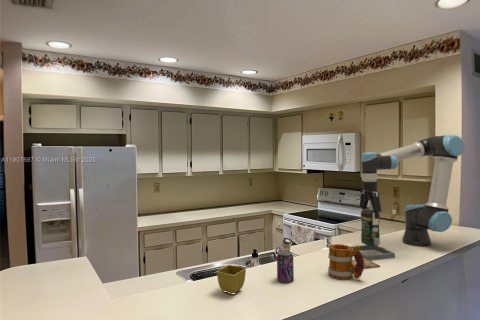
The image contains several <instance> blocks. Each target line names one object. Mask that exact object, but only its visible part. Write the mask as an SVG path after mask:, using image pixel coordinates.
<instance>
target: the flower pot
mask: <svg viewBox="0 0 480 320" xmlns="http://www.w3.org/2000/svg"><path fill="white" fill-rule="evenodd" d="M246 271H247V268H245V267H241V266H237V265H234V264H233V265H232V264H228V265H226V266H224V267H222V268H220V269H218V270H217V271H216V276H217V282H218V286H219V288H220V290H221V291H222V290H223V291H227V292H230V293H236V292H237V291H239V290H240V289H241V290H242V288H243V286H244V284H245V280H246ZM241 290H240V291H241ZM223 291H222V292H223ZM240 291H239V292H240ZM237 293H238V292H237ZM237 293H236V294H237Z"/></svg>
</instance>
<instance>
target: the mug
mask: <svg viewBox="0 0 480 320" xmlns="http://www.w3.org/2000/svg"><path fill="white" fill-rule="evenodd" d="M355 246H356V247H355V248H354V249H353V250H352V248H351V246H350V245H348V244H347V245H346V244H341V243H337V244H336V243H335V244H331V245H329V247H328V252H329V253H328V259H329V264H328V265H329V266H328V267H327V268H328V269H327V271H328V276H330V277H331V278H333V279H335V280H336V279H337V280H350V279H352V278H355V279H357V280H358V279H360V278H361V277H362V274H363V272H364V270H365V269H364V260H363V256H362V253H363V252H361V251H360V248H361V247H360V246H361V245H355ZM353 258H354V259H353ZM352 260H356V262H357V263H356V267H354V266H353V265H352Z"/></svg>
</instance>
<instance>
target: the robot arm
mask: <svg viewBox="0 0 480 320" xmlns="http://www.w3.org/2000/svg"><path fill="white" fill-rule="evenodd" d="M465 148H466V147H465V143H464V141H463V139H462V138H461V137H460V136H458V135H456V134H446V135H433V136H430V137H427V138H423V139H420V140H417V141H414V142H413V143H412V144H409V145H405V146H401V147H397V148H394V149H391V150H390V149H389V150H387V151H382V152H379V153H377V152H376V151H375V152H372V151H371V152H363V153H361V160H360V161H361V188H362V189H361V190H360V200H359V208H360V209H361V211H362V210H365V209H368V204H369V201H370V203H371V208H372V210H373V225H378V213H379V214H380V212H382V207H381V201H380V193H379V192H376V189H378V182H377V181H378V170H381V171H382V170H390V171H391V170H395V169H397V168H398V166H399V162H402V161H405V160H409V159H412V158H415V157H418V158H421V157H432V159H434V160H435V162H434V166H433V167H434V168H433V174H432V179H431V184H430V185H431V186H430V189H429V196H428V200H427V202H426V203H424V204H408V205H406V206H405V209H404V213H405V214H404V215H405V217H404V218H405V224H404V225H405V229H404V232H403V236H402V243H403V244H405V245H409V246H414V247H415V246H417V247H428V246H429V247H430V246H431V245H432V239H431V237H430V235H429V232H428V230H430V231H432V232H436V233H443V232H446V231H447V230H449V228H450V227H452V226H451V225H452V222H453V218H452V215H451V213H449V210H450V209H449V207H448V206H447V200H448V196H449V190H450V184H451V179H452V173H453V166H454V163H456V162H457V161H458V157H460V156H461V155H462V154H463V153H464V152H465Z"/></svg>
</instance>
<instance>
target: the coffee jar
mask: <svg viewBox="0 0 480 320" xmlns="http://www.w3.org/2000/svg"><path fill="white" fill-rule="evenodd" d="M360 220H361V231H360V232H361V234H360V237H361V238H360V241H361V243H362V245H368V246H380V245H381V239H380V212H379V213H378V225H373V209H368V208H367V209H365V210H362V209H361V211H360Z"/></svg>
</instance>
